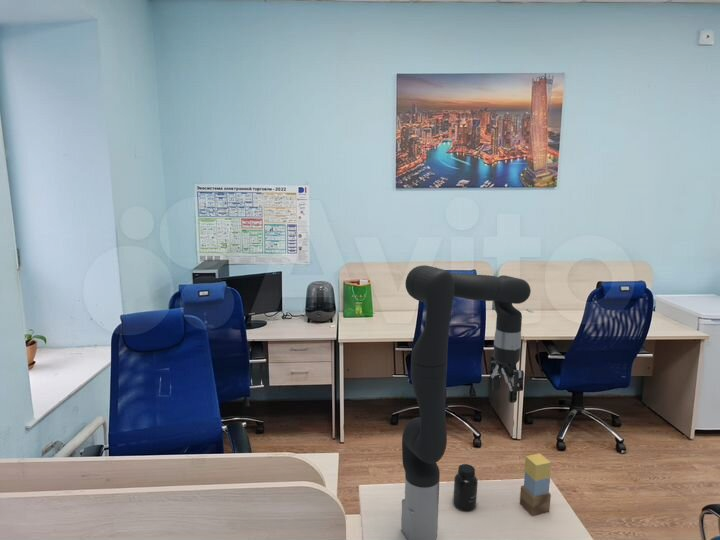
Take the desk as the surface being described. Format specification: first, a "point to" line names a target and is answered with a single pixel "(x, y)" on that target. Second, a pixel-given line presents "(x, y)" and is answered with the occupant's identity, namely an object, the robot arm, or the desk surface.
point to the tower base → (534, 502)
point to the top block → (537, 467)
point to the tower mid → (536, 485)
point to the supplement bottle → (465, 488)
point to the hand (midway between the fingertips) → (503, 395)
